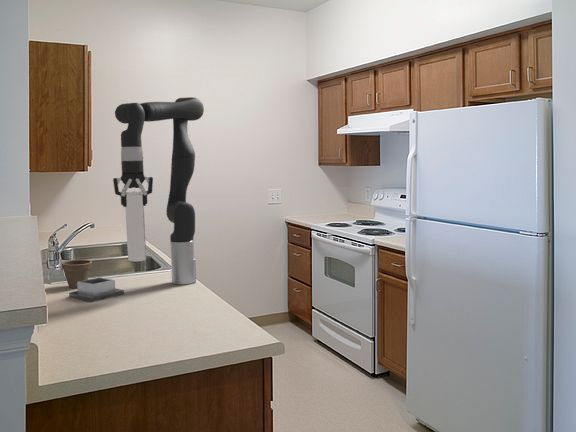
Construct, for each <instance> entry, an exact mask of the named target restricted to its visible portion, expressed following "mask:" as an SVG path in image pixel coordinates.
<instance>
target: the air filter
mask: <svg viewBox="0 0 576 432" xmlns="http://www.w3.org/2000/svg"><path fill="white" fill-rule="evenodd" d="M125 202H126V207H124V209H125V222H126V225H125V226H126V229H125V230H126V243H127V244H126V245H127V247H126V248H127V261H128V262H132V263H133V262H134V263H135V262H143V261H146V260H147V253H146V251H147V248H146V232H145V227H146V226H145V225H146V224H145V209H144V208H145V206H144V204H143V193H142V192H141V191H126V193H125Z"/></svg>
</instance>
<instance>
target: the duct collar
mask: <svg viewBox="0 0 576 432" xmlns="http://www.w3.org/2000/svg"><path fill="white" fill-rule="evenodd" d="M77 287H78V288H77V290H76V291H71V292H69V293H68V294H69V295H68V296H69V297H70V298H74V299H78V300H81V301H84V302H89V303H93V302H97V301H102V300H104V299H111V298H113V297H118V296H121V295H125V290H124V289H120V288H116V280H115V279H112V278H107V277H103V276H102V277H100V276H98V277H95V278H94V277H93V278H88V280H83V281H78V282H77Z"/></svg>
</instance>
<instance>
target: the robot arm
mask: <svg viewBox="0 0 576 432" xmlns="http://www.w3.org/2000/svg"><path fill="white" fill-rule="evenodd" d="M204 111H205V109H204V103H203V102H202V101H201V100H200V99H199V98H197V97H191V96H190V97H178V98H177V99H175V100H174V101H149V102H142V103H141V102H140V103H138V102H129V103H121V104H119V105H118V106H117V107H116V108H115V111H114V115H115V116H114V117H115V118H116V120H117V121H118V122H119V123H121V124H124V125H125V124H127V128H126V129H125V130H122V131H121V134H120V148H121V149H120V163H121V176H120V177H114V178H113V179H112V183H113V188H114V194H115V195H116V196H120V206H122V207H123V208H125V207H126V202H125V193H126V192H128V189H133V188H134V189H139V190H140V192H141V194H143V204H144V207H146V206H147V204H148V195H151V194H153V187H154V185H153V183H154V178H153V176H145V173H144V171H145V170H144V156H143V154H144V152H143V146H142V133H143V130H144V129H143V128H144V124H145V122H146V123H147V122H148V123H150V122H159V121H166V120H172V128H173V132H172V133H173V134H172V135H173V136H172V137H173V138H172V150H171V151H172V152H171V153H172V154H171V164H170V166H171V167H170V169H171V170H170V184H169V191H168V193H169V194H168V199H167V205H166V210H165V211H166V217H167V219H168V220H169V222H170V223H173V231H172V233H171V234H170V237H169V239H170V243H169V244H170V262H171V263H170V264H171V265H170V266H171V284H173V285H188V284H194V283H197V272H196V271H197V268H196V267H197V265H196V258H195V250H194V236H195V233H196V211H195V208H194V206H193V205H192V204H191V203H189V202H187V191H188V187H189V185H190V181H191V180H192V177H193V174H194V171H195V161H196V151H195V149H194V147H193V145H192V142H191V140H190V138H189V134H188V121H191V122H192V121H193V122H194V121H197V120H199V119H201V118H202V117H203V115H204ZM120 182H122V184H123V187H122V189H121V191H120V189H119V184H120ZM144 182H146V183H147V190H146V189H145V187H144V186H143V183H144Z"/></svg>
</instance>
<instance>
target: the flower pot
mask: <svg viewBox="0 0 576 432" xmlns="http://www.w3.org/2000/svg"><path fill="white" fill-rule="evenodd" d="M92 267H93V261H92V260H88V259H73V260H66V261H63V262H61V270H63V272H64V275H65V280H66V281H67V285H68V287H69V288H71V289H78V287H77V282H78V281H83V280H88V279H89V275H90V271H91V269H92Z"/></svg>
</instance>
